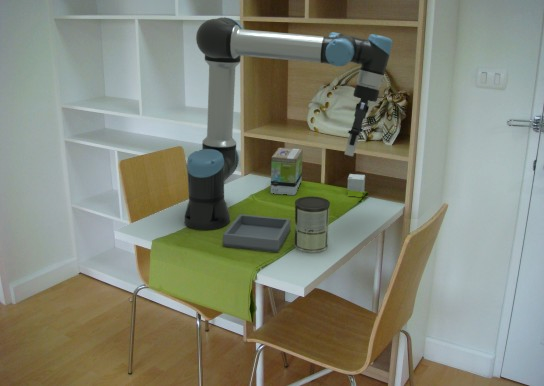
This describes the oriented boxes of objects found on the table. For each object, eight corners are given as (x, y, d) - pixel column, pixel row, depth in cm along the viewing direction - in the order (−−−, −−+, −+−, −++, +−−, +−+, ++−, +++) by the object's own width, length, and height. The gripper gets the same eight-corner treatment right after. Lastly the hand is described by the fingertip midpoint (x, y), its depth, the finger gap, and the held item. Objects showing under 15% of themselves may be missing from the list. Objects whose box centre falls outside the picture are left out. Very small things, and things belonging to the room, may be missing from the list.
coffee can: (287, 242, 173) (288, 199, 169) (316, 236, 178) (318, 194, 173) (304, 255, 165) (306, 210, 160) (334, 248, 169) (336, 204, 164)
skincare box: (364, 192, 217) (365, 174, 215) (362, 198, 212) (364, 179, 209) (348, 191, 219) (349, 173, 216) (346, 196, 213) (347, 178, 211)
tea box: (296, 196, 213) (296, 158, 209) (270, 194, 215) (270, 156, 210) (302, 183, 227) (302, 148, 222) (277, 182, 229) (277, 146, 224)
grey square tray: (223, 246, 170) (222, 234, 169) (239, 225, 186) (239, 214, 184) (277, 252, 166) (278, 240, 165) (290, 230, 182) (290, 219, 180)
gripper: (379, 90, 162) (359, 161, 167) (379, 89, 186) (362, 150, 191) (354, 84, 163) (335, 154, 168) (357, 83, 187) (341, 145, 192)
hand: (349, 152), depth 180 cm, fingers open, 13 cm apart
